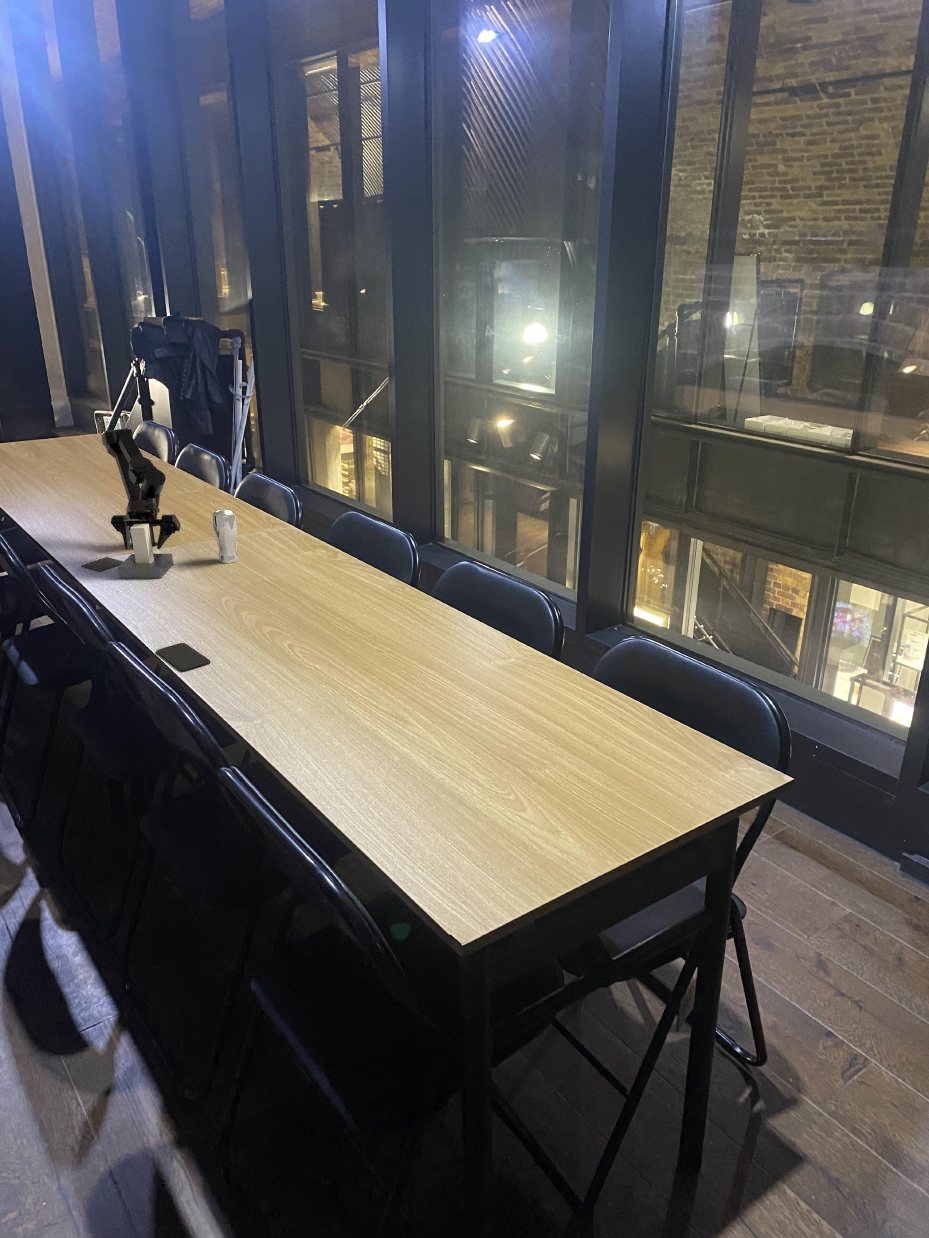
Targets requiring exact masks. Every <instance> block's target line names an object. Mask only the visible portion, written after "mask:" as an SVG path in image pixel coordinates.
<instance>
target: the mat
mask: <svg viewBox="0 0 929 1238" xmlns="http://www.w3.org/2000/svg"><path fill="white" fill-rule="evenodd" d="M124 561H125V560H120V559H116V558H113V557H109V556H105V557H102V558H99V559H96V560H92V561H90V562H86V563H83V564H81V565H80V567H81V568H84V569H88V570H91V571H95V572H99V573H101V572H104V571H108V570H110V569H113V568H116V567H117V568H118V566H119V565H120V564H121V563H123V562H124Z"/></svg>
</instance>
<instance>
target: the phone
mask: <svg viewBox="0 0 929 1238" xmlns="http://www.w3.org/2000/svg"><path fill="white" fill-rule="evenodd" d="M155 653H156V654H157V655H158V656H160V657H161V658H162V659H163V660H164V661H165V662H167V663H169V664H170V665H171V666H172V667H174V668H175V669H176V670H177V671H179V672H181V673H186V672H189V671H192V670H193V671H194V670H195V669H200V668H202V667H205V666H208V665H210V664H211V659H209V658H207V657H206V656H204V655H203V654H202V653H200V652H198V651H197V650H196V649H194V648H193V647H191V646H190V645H188V643H185V642H178V643H175V644H173V645H169V646H165V647H162V648H159V649H157V650H156V651H155Z"/></svg>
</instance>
